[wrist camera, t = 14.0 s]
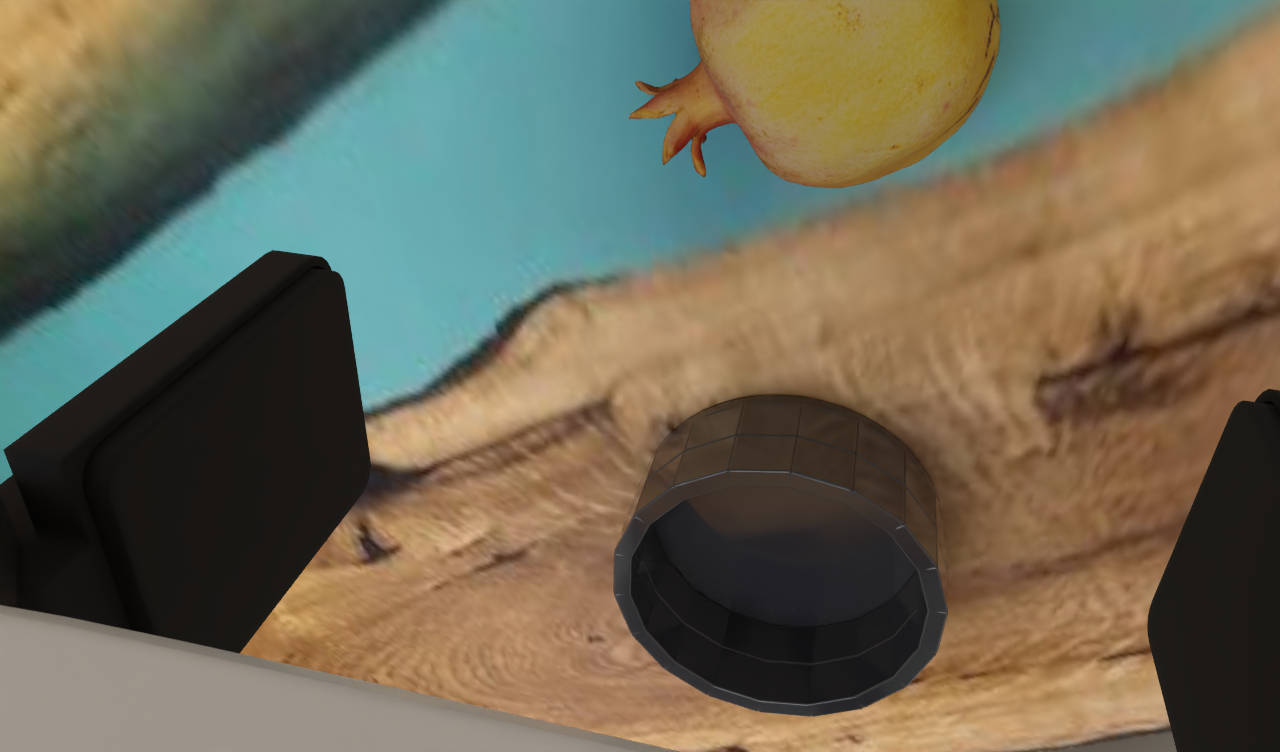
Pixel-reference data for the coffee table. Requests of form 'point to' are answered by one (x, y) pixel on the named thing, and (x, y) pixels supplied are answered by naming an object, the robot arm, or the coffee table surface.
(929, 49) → the fruit
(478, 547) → the coffee table surface
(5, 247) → the coffee table surface
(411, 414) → the coffee table surface
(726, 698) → the round container
